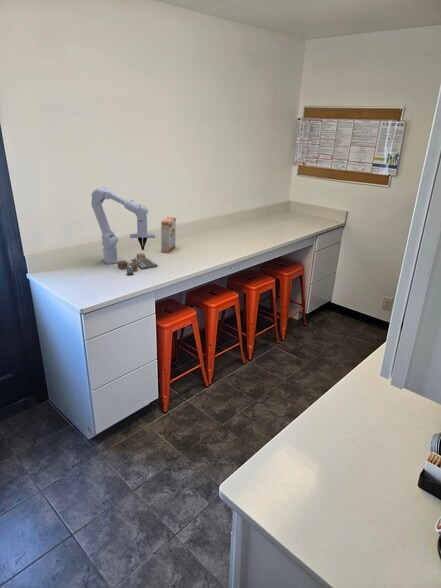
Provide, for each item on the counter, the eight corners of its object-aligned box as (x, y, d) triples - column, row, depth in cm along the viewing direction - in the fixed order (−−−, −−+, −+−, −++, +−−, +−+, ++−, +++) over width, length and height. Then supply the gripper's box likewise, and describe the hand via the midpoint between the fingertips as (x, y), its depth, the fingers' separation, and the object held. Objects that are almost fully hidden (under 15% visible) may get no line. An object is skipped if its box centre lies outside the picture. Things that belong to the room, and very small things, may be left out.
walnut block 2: (129, 269, 232) (129, 263, 231) (136, 269, 234) (136, 262, 232) (130, 271, 229) (130, 265, 227) (137, 271, 230) (137, 264, 229)
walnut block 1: (118, 268, 234) (117, 261, 232) (124, 266, 236) (123, 260, 235) (121, 270, 231) (121, 263, 230) (127, 268, 234) (127, 262, 232)
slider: (136, 259, 245) (136, 253, 244) (142, 258, 248) (142, 252, 246) (139, 261, 242) (139, 255, 241) (145, 260, 245) (145, 254, 243)
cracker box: (169, 253, 263) (169, 222, 254) (161, 252, 264) (160, 221, 255) (176, 247, 275) (176, 217, 267) (167, 246, 276) (167, 216, 268)
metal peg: (126, 273, 226) (125, 265, 224) (132, 272, 228) (131, 264, 226) (128, 275, 223) (127, 267, 221) (134, 274, 225) (134, 266, 223)
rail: (131, 261, 245) (131, 257, 244) (146, 258, 250) (146, 255, 249) (142, 269, 233) (142, 265, 232) (157, 266, 238) (157, 263, 237)
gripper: (129, 229, 227) (130, 251, 233) (154, 229, 229) (155, 251, 235) (129, 225, 233) (130, 248, 239) (154, 226, 236) (155, 248, 241)
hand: (142, 249), depth 237 cm, fingers closed
